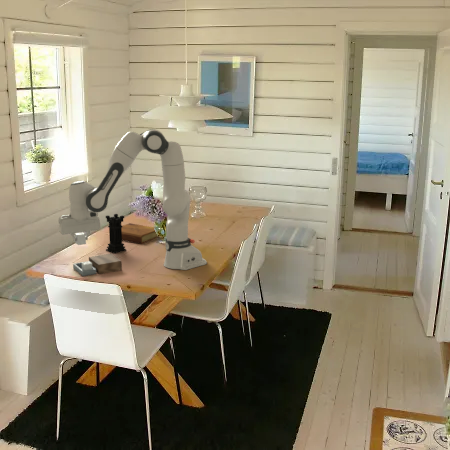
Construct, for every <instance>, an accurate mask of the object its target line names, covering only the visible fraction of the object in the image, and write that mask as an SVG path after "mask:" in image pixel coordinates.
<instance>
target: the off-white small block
mask: <svg viewBox="0 0 450 450" xmlns="http://www.w3.org/2000/svg"><path fill="white" fill-rule="evenodd" d="M81 262H82V270H83V271H86V270H92V263H91V262H90V261H89V260H87V262H86V261H81Z"/></svg>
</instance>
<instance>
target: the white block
mask: <svg viewBox="0 0 450 450" xmlns="http://www.w3.org/2000/svg"><path fill="white" fill-rule="evenodd" d="M74 237H76V238H77V241H75V244H76V245H78V246H81V245H87V240H86V233H85V232H79V233H75V235H74Z"/></svg>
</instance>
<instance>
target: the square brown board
mask: <svg viewBox="0 0 450 450" xmlns="http://www.w3.org/2000/svg"><path fill="white" fill-rule="evenodd" d="M88 261H90V262H91V263H92V266H93V267H94V268H95V269H96V274H98V275H103V274H108V273H112V272H113V273H114V272H118V271H122V268H123V267H122V260H121V259H120V258H118V257H117V256H115V255H114V253H111V252H109V253H106V254H99V255H94V256H88Z"/></svg>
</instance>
